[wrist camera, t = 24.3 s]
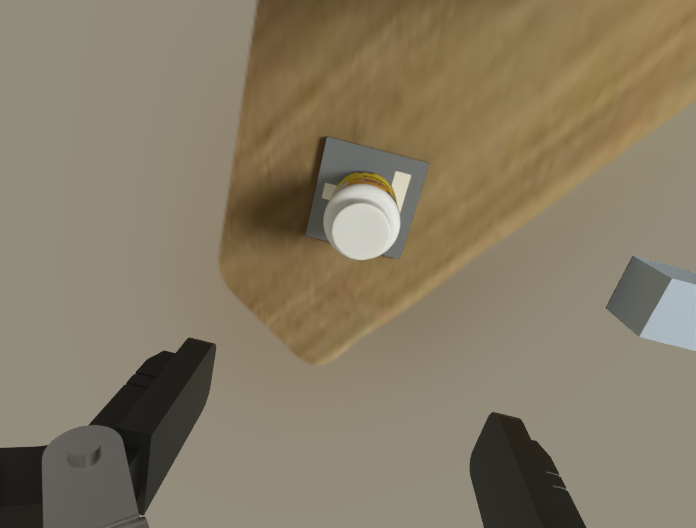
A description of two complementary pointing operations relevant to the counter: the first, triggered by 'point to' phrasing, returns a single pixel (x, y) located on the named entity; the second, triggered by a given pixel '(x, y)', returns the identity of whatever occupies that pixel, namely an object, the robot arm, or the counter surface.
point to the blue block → (657, 302)
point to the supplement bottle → (362, 216)
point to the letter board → (355, 157)
